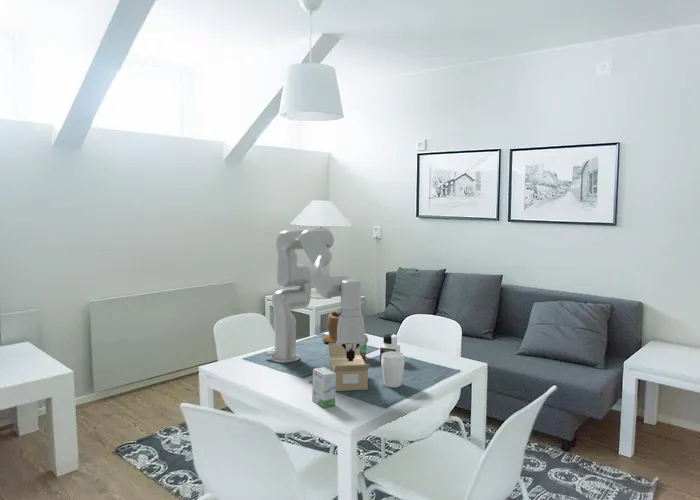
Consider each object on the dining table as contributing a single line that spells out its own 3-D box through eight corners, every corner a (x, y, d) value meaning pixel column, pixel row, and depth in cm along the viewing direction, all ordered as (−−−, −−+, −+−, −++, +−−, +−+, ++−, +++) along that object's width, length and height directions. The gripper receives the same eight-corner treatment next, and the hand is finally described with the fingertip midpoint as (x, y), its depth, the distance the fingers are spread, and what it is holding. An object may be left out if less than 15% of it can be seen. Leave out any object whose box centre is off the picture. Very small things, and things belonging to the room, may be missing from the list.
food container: (365, 362, 236) (365, 340, 235) (351, 362, 238) (352, 339, 237) (370, 354, 248) (370, 333, 247) (357, 353, 250) (357, 332, 249)
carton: (333, 391, 202) (333, 370, 202) (328, 375, 220) (328, 355, 219) (367, 389, 204) (367, 368, 203) (360, 373, 222) (360, 354, 221)
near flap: (334, 370, 201) (334, 371, 201) (335, 365, 196) (335, 366, 196) (367, 369, 203) (367, 370, 203) (369, 364, 198) (369, 365, 198)
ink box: (311, 400, 193) (311, 368, 192) (324, 397, 196) (324, 366, 195) (323, 408, 186) (323, 375, 185) (336, 405, 189) (336, 372, 188)
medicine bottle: (379, 362, 237) (380, 336, 236) (384, 358, 243) (385, 332, 242) (395, 364, 234) (395, 337, 233) (400, 360, 241) (400, 333, 239)
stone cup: (340, 346, 262) (340, 316, 261) (319, 343, 267) (319, 313, 266) (353, 338, 276) (353, 310, 274) (333, 336, 281) (333, 307, 279)
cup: (397, 390, 203) (398, 359, 202) (376, 385, 208) (377, 355, 207) (408, 383, 211) (408, 353, 210) (387, 379, 216) (388, 350, 214)
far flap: (328, 343, 224) (328, 343, 224) (329, 355, 220) (329, 356, 220) (358, 342, 225) (358, 342, 226) (360, 354, 221) (359, 355, 222)
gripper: (331, 315, 196) (331, 364, 198) (372, 314, 198) (371, 363, 200) (329, 310, 203) (329, 358, 205) (369, 310, 205) (368, 356, 207)
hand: (350, 360), depth 202 cm, fingers closed
